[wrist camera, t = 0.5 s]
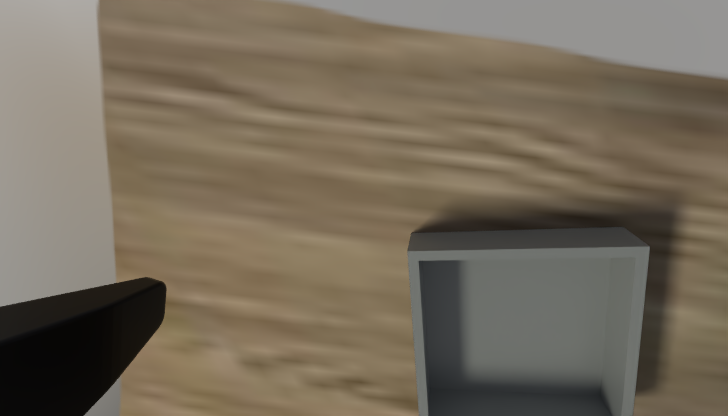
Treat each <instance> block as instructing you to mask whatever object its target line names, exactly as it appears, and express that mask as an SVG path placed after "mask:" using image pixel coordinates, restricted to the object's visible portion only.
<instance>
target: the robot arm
mask: <svg viewBox="0 0 728 416" xmlns="http://www.w3.org/2000/svg"><path fill="white" fill-rule="evenodd" d="M165 302H166V285H165V283H164V282H162V281H159V280H155V279H152V278H149V277H144V278H139V279H134V280H129V281H124V282H119V283H114V284H109V285H104V286H100V287H95V288H90V289H85V290H80V291H75V292H70V293H65V294H61V295H56V296H50V297H46V298H41V299H36V300H31V301H27V302H21V303H16V304H12V305H6V306H2V307H0V416H84V415H85V414H86V412H88V410H89V409H90V408H91V407H92V406H93V405H94V404H95V403H96V402H97V401H98V400H99V399H100V398H101V397H102V396H103V395H104V394H105V393H106V392H107V391H108V389H109V388H110V387H111V386H112V385H113V384H114V383H115V382H116V380H117V379H118V378H119V377H120V376H121V374H122V373H123V372H124V371H125V369H126V368H127V367H128V366H129V364H130V363H131V362H132V361H133V359H134V358H135V357H136V356H137V354H138V353H139V352H140V351H141V349H142V348H143V347H144V346H145V344H146V343H147V342H148V341H149V339H150V338H151V337H152V336H153V334H154V333H155V332H156V331H157V329H158V328H159V327H160V325H161V323H162V321H163V319H164V314H165Z"/></svg>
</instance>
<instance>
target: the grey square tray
mask: <svg viewBox="0 0 728 416" xmlns="http://www.w3.org/2000/svg"><path fill="white" fill-rule="evenodd" d="M649 251H650V246H649V245H647V244H646V243H645V242H643V241H642V240H640V239H639V238H638V237H636V236H635V235H634V234H632V233H631V232H630V231H628V230H627V229H626V228H624V227H599V228H566V229H532V230H498V231H464V232H430V233H411V237H410V241H409V246H408V251H407V252H408V266H409V280H410V294H411V308H412V322H413V337H414V351H415V365H416V379H417V393H418V407H419V416H633V409H634V399H635V389H636V379H637V369H638V359H639V349H640V340H641V330H642V320H643V310H644V300H645V290H646V280H647V270H648V261H649Z"/></svg>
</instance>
